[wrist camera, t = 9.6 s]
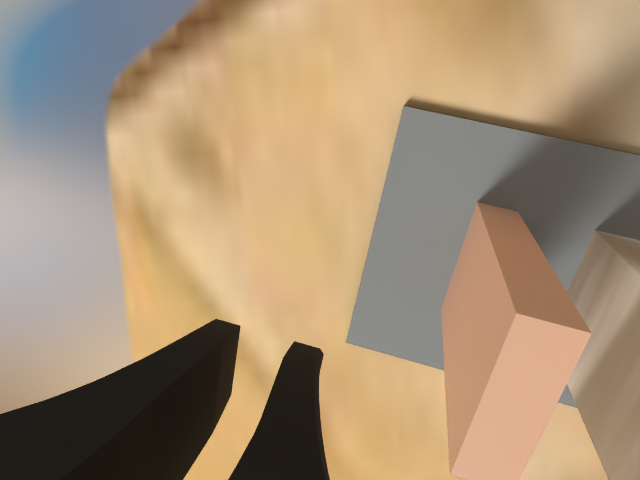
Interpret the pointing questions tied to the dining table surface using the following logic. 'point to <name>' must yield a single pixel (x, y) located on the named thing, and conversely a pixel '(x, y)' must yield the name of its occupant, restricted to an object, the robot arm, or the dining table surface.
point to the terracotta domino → (504, 347)
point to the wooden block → (610, 351)
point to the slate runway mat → (457, 210)
